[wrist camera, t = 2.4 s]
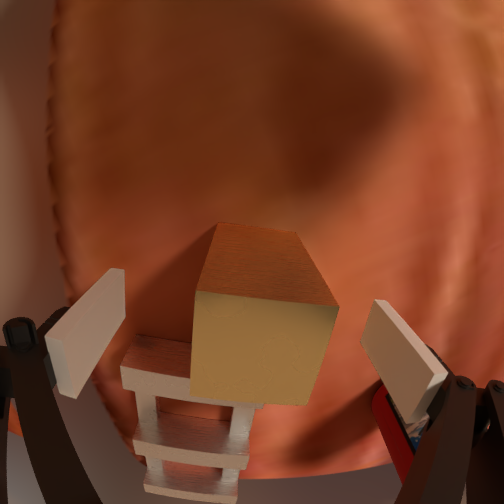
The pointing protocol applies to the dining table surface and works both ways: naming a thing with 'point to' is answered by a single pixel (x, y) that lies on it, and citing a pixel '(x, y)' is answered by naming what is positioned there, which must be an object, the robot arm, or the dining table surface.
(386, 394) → the beverage can
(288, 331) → the brass block
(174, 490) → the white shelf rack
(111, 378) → the dining table surface
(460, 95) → the dining table surface
